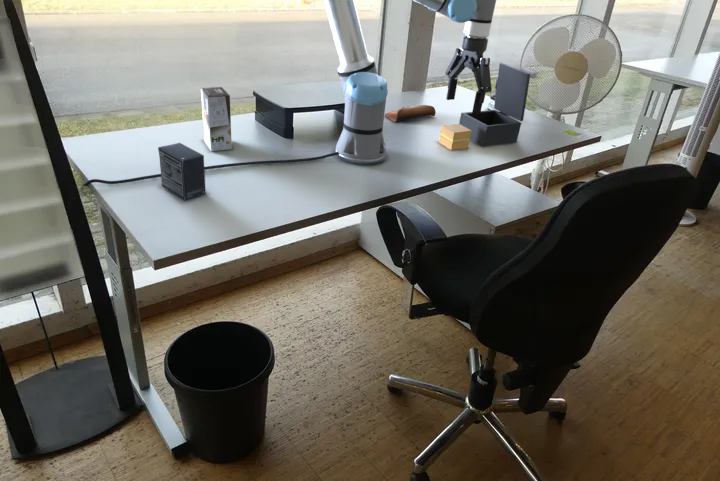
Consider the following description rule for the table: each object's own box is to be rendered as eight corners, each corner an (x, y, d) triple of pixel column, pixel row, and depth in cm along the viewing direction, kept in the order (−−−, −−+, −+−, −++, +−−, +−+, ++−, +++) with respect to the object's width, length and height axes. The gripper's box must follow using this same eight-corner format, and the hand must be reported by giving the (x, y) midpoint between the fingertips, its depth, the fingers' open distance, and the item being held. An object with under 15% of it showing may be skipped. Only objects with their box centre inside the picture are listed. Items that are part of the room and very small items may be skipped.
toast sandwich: (451, 150, 177) (454, 132, 174) (438, 142, 182) (441, 125, 179) (468, 148, 180) (471, 130, 177) (455, 140, 185) (458, 123, 182)
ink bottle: (483, 107, 221) (490, 77, 215) (504, 108, 223) (510, 78, 217) (492, 115, 213) (499, 84, 207) (513, 116, 215) (521, 85, 209)
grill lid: (528, 74, 176) (545, 70, 179) (499, 63, 186) (516, 59, 189) (520, 121, 185) (537, 117, 188) (493, 108, 195) (510, 104, 198)
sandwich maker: (482, 146, 183) (487, 126, 179) (457, 132, 193) (461, 112, 189) (516, 142, 189) (521, 122, 186) (490, 128, 200) (494, 109, 196)
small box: (207, 194, 136) (205, 154, 131) (184, 201, 132) (181, 161, 127) (183, 179, 142) (180, 141, 137) (160, 186, 138) (156, 146, 132)
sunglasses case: (421, 109, 210) (429, 97, 205) (429, 123, 208) (438, 111, 202) (383, 114, 201) (390, 101, 195) (391, 129, 198) (399, 116, 193)
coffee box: (232, 149, 162) (230, 95, 153) (210, 151, 159) (207, 96, 151) (224, 138, 169) (222, 86, 160) (203, 140, 166) (199, 87, 157)
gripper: (513, 45, 157) (497, 117, 168) (460, 27, 175) (449, 93, 186) (493, 46, 153) (478, 119, 164) (441, 27, 172) (431, 94, 183)
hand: (462, 105), depth 175 cm, fingers open, 13 cm apart
